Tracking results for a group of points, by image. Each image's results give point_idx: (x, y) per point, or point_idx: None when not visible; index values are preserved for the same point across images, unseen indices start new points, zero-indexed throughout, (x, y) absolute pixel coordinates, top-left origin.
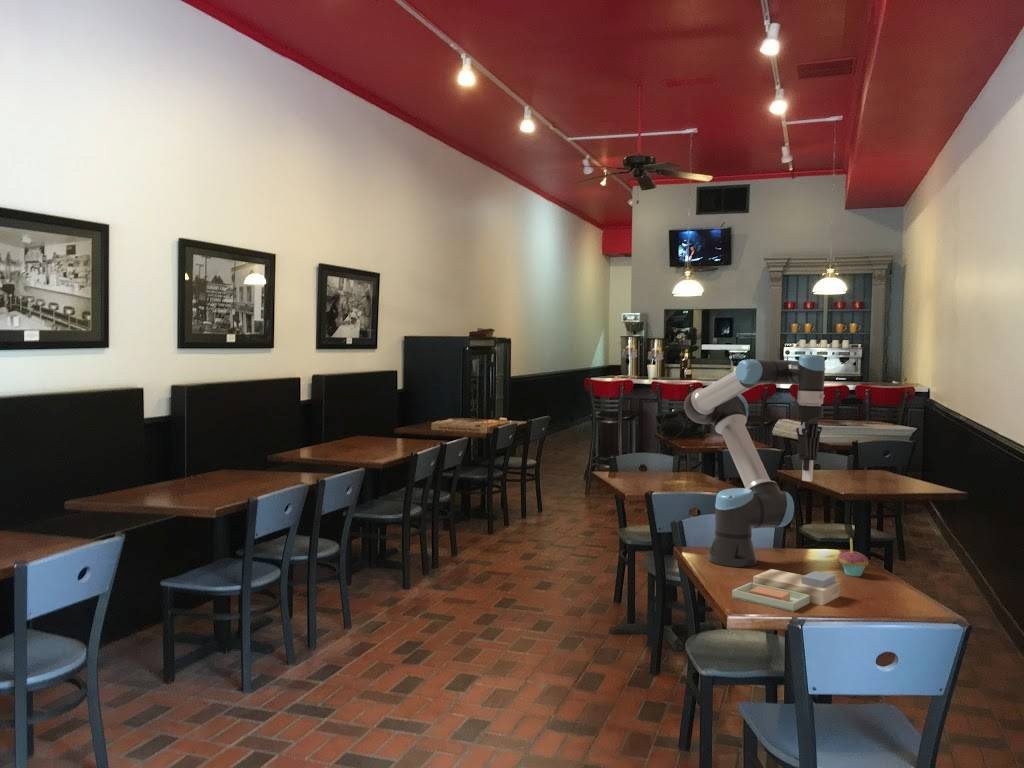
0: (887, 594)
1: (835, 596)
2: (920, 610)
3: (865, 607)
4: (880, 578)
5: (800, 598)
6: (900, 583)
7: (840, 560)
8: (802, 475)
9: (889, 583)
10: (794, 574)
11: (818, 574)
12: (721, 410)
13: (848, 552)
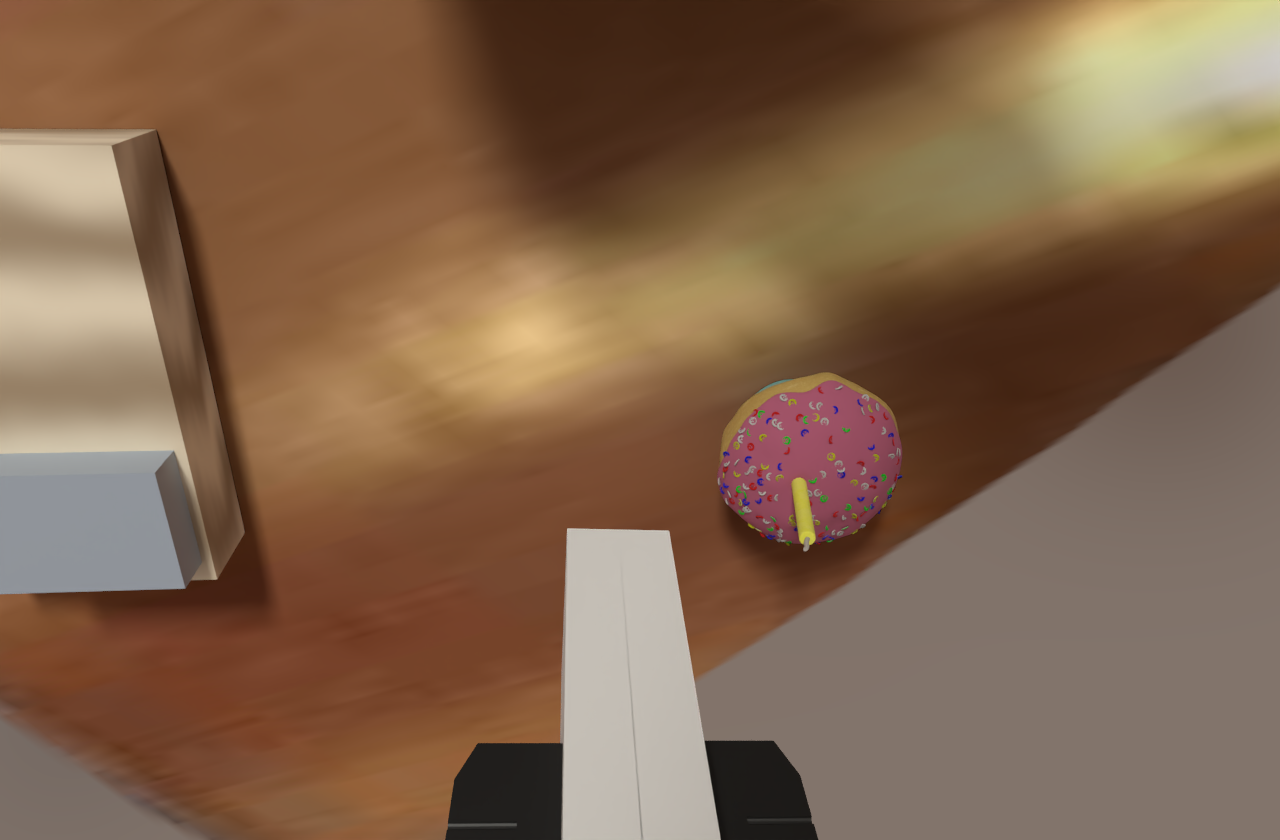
0: (499, 658)
1: None
2: (355, 805)
3: (180, 667)
4: (802, 544)
5: None
6: (766, 634)
7: (749, 405)
8: (565, 603)
9: (726, 603)
10: (129, 332)
11: (90, 523)
12: None
13: (804, 462)
